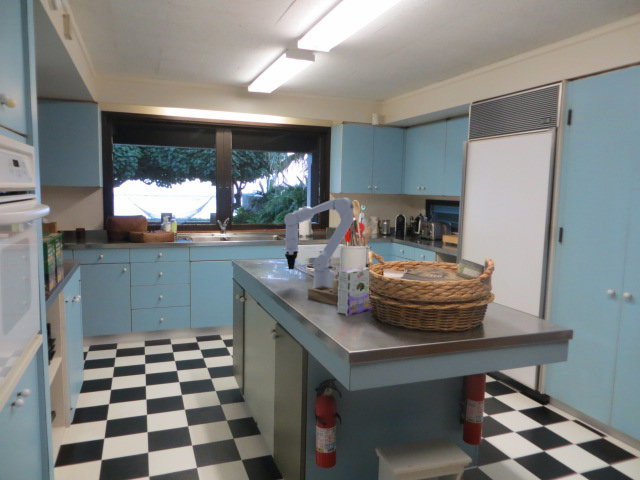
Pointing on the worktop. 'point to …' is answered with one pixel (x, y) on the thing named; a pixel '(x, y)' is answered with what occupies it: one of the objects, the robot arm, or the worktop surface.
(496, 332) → the worktop surface
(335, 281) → the pin
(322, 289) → the socket block
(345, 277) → the candy box
